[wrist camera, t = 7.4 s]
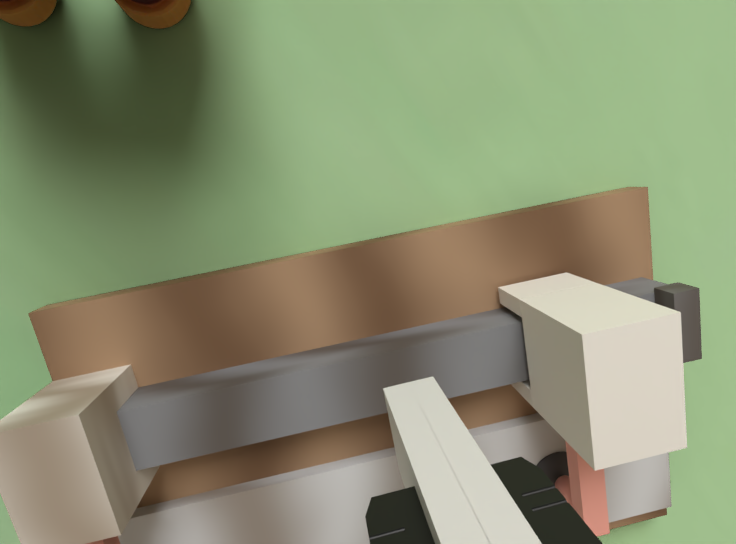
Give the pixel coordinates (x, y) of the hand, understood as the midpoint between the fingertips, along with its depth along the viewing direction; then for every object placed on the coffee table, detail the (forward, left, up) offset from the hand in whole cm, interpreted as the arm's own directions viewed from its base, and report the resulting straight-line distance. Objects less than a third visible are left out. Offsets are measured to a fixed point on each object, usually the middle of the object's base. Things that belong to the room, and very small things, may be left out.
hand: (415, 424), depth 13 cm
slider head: (+7, -3, -6) cm, 9 cm away
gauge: (0, -3, -7) cm, 8 cm away
